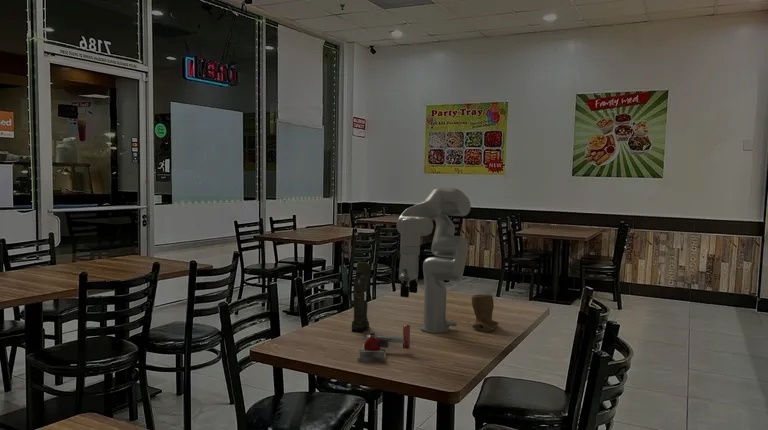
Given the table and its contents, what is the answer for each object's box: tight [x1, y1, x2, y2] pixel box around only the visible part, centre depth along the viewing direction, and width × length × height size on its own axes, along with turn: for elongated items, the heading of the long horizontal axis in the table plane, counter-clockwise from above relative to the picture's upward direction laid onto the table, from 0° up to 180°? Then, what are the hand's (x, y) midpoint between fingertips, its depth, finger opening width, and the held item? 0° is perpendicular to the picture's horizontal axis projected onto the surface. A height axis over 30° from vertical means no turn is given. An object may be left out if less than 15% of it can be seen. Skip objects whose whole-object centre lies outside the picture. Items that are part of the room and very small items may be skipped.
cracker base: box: [357, 331, 387, 363], centre depth 211 cm, size 10×17×7 cm, turn 1°
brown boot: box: [471, 293, 499, 332], centre depth 251 cm, size 15×12×15 cm
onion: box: [363, 335, 380, 351], centre depth 208 cm, size 6×6×8 cm
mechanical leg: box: [351, 261, 372, 334], centre depth 246 cm, size 14×7×30 cm, turn 169°
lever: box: [365, 324, 411, 350], centre depth 214 cm, size 16×4×8 cm, turn 81°
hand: (408, 294), depth 218 cm, fingers open, 9 cm apart
